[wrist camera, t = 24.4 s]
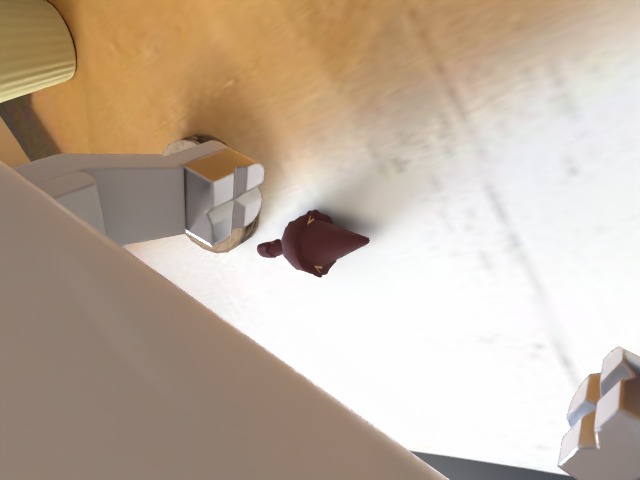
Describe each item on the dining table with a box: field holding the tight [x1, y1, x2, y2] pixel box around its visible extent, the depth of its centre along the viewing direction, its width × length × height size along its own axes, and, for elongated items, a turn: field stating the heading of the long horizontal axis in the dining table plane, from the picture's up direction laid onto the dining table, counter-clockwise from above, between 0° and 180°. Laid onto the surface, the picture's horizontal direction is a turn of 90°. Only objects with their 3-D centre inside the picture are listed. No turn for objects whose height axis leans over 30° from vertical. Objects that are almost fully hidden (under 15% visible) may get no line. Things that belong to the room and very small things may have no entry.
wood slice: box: [161, 134, 259, 253], centre depth 57 cm, size 16×16×3 cm
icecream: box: [257, 210, 369, 277], centre depth 47 cm, size 7×7×15 cm
